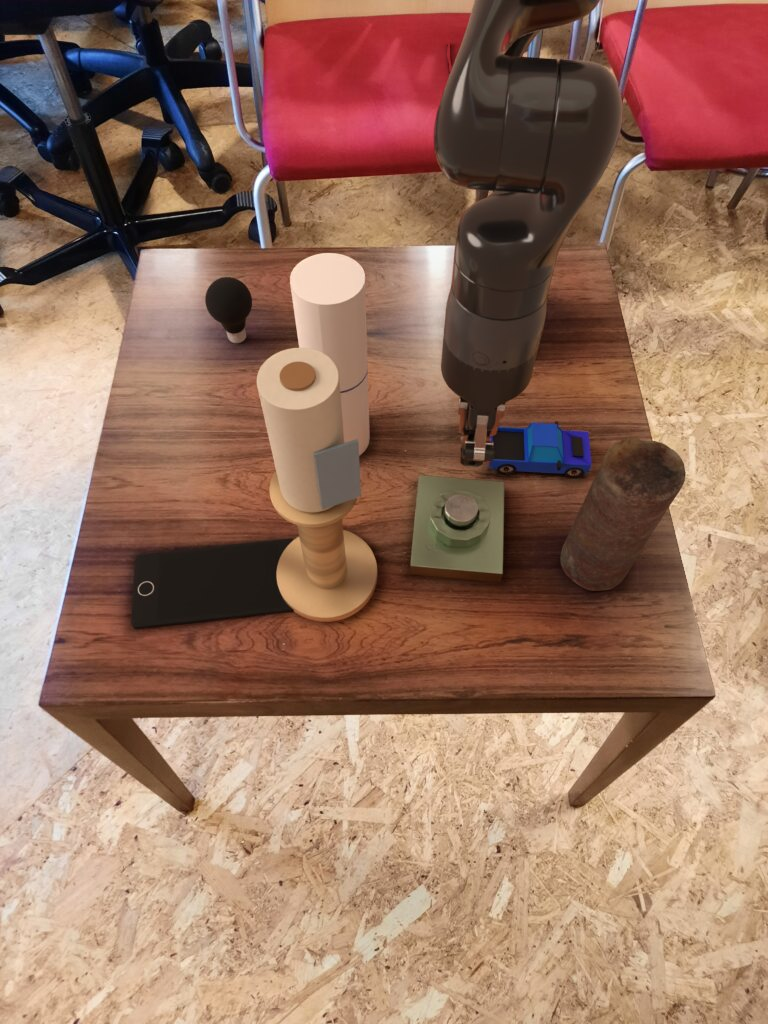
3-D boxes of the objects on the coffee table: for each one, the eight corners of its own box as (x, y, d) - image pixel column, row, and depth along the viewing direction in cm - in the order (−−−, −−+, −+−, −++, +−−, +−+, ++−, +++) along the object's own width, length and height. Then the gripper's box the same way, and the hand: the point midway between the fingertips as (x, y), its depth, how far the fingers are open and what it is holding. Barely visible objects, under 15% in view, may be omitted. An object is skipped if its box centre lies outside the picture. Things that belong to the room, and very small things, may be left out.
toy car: (587, 485, 87) (597, 461, 83) (486, 480, 88) (491, 455, 83) (583, 440, 91) (593, 415, 86) (486, 435, 91) (490, 410, 87)
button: (444, 500, 82) (445, 492, 80) (476, 503, 82) (478, 494, 80) (442, 528, 80) (443, 520, 79) (475, 531, 80) (477, 523, 78)
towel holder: (286, 528, 84) (264, 432, 69) (382, 537, 84) (381, 441, 68) (269, 617, 78) (241, 533, 63) (371, 626, 78) (368, 544, 63)
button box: (417, 484, 87) (419, 465, 84) (501, 491, 87) (506, 472, 83) (409, 574, 81) (410, 557, 78) (500, 582, 81) (505, 566, 77)
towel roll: (271, 468, 66) (245, 358, 54) (336, 447, 68) (326, 334, 55) (293, 524, 63) (271, 419, 51) (361, 500, 64) (355, 393, 52)
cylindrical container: (362, 466, 89) (356, 309, 67) (305, 456, 90) (281, 298, 68) (375, 420, 92) (372, 258, 71) (319, 411, 93) (300, 248, 72)
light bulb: (268, 336, 100) (257, 278, 92) (241, 363, 97) (228, 306, 89) (234, 319, 102) (221, 261, 93) (207, 345, 99) (191, 288, 91)
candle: (608, 609, 79) (669, 512, 62) (546, 577, 81) (589, 474, 64) (635, 556, 82) (700, 450, 65) (574, 526, 84) (623, 416, 67)
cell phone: (137, 558, 83) (135, 554, 82) (297, 541, 84) (296, 537, 83) (132, 631, 78) (130, 627, 77) (301, 612, 79) (300, 608, 78)
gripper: (542, 400, 53) (509, 520, 68) (539, 275, 60) (510, 409, 75) (439, 393, 54) (428, 514, 69) (448, 270, 61) (436, 404, 75)
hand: (471, 459), depth 72 cm, fingers closed
